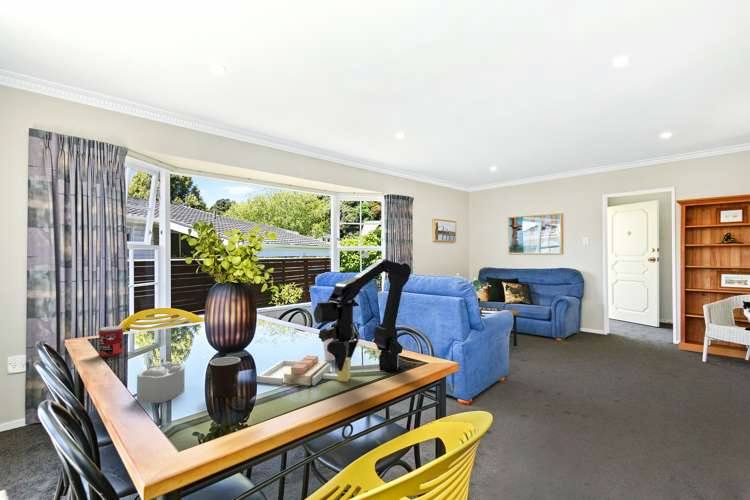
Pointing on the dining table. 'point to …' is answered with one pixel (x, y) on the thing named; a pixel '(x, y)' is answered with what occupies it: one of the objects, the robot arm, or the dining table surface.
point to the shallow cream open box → (304, 375)
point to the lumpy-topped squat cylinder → (161, 382)
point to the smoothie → (327, 355)
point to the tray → (276, 372)
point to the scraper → (340, 376)
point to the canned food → (110, 341)
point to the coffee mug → (225, 376)
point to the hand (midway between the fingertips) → (344, 366)
